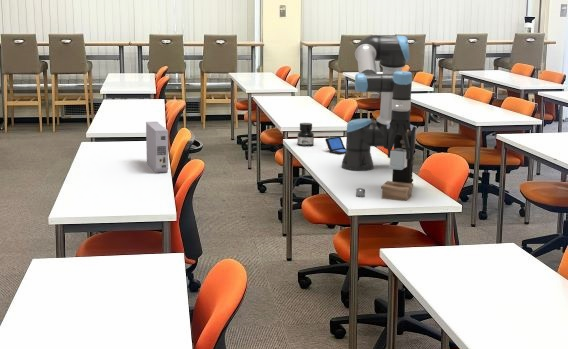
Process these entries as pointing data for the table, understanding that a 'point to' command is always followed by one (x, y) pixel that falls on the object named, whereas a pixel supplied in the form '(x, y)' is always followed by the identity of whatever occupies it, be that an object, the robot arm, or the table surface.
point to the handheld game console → (335, 145)
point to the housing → (397, 159)
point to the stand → (396, 190)
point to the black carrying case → (406, 173)
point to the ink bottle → (305, 135)
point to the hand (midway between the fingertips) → (398, 166)
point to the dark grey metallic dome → (360, 192)
